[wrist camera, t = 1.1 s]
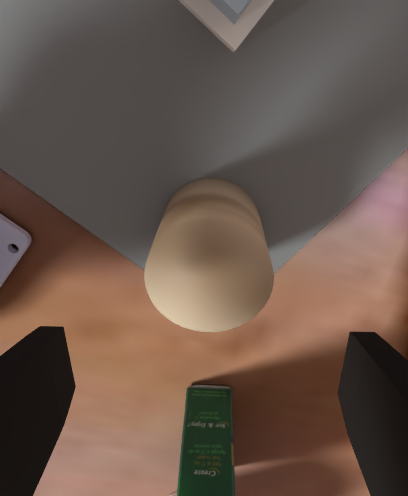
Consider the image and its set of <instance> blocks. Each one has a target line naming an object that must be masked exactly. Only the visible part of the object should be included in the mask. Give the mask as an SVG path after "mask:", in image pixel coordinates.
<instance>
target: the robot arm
mask: <svg viewBox="0 0 408 496" xmlns="http://www.w3.org/2000/svg"><path fill="white" fill-rule="evenodd" d="M31 242H32V240H31V236H30V234H29V233H28V232H27V231H25V230H24V229H22V228H21V227H19V226H18V225H16V224H15V223H13V222H12V221H10V220H9V219H7V218H6V217H4V216H3V215H2V214H0V287H1V286H2V284H3V283H4V282H5V280H6V279H7V277H8V276H9V274H10V273H11V272H12V270H13V269H14V267H15V266H16V264H17V263H18V261H19V260H20V259H21V257H22V256H23V254H24V253H25V251H26V250H27V249H28V247H29V246H30V244H31ZM11 244H15V245H16V246H17V247H18V249H19V250H16V249H14V248H13V247H12V245H11ZM75 387H76V386H75V381H74V377H73V372H72V367H71V362H70V357H69V352H68V347H67V342H66V337H65V332H64V327H51V326H40V327H38V328H37V329H35V330H34V331H33V332H31V333H30V334H28V335H27V336H26V337H24V338H23V339H22V340H21V341H19V342H18V343H17V344H15V345H14V346H13V347H11V348H10V349H9V350H8V351H6V352H5V353H4V354H2V355H1V356H0V496H33V494H34V492H35V490H36V487H37V485H38V483H39V481H40V478H41V476H42V474H43V472H44V470H45V467H46V465H47V463H48V461H49V458H50V456H51V454H52V452H53V449H54V447H55V445H56V442H57V440H58V438H59V436H60V433H61V431H62V429H63V426H64V423H65V420H66V417H67V414H68V411H69V408H70V404H71V401H72V397H73V394H74V390H75ZM338 396H339V400H340V404H341V409H342V413H343V417H344V421H345V425H346V429H347V433H348V436H349V438H350V441H351V444H352V447H353V449H354V452H355V455H356V458H357V460H358V463H359V466H360V468H361V471H362V474H363V476H364V479H365V482H366V484H367V487H368V490H369V492H370V495H371V496H408V360H406V359H405V358H404V357H403V356H402V355H401V354H400V353H399V352H397V351H396V350H395V349H394V348H393V347H392V346H391V345H389V344H388V343H387V342H386V341H385V340H384V339H383V338H381V337H380V336H379V335H378V334H376V333H375V332H350V334H349V339H348V344H347V349H346V354H345V359H344V364H343V369H342V374H341V379H340V384H339V389H338Z"/></svg>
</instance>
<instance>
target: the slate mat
mask: <svg viewBox="0 0 408 496" xmlns="http://www.w3.org/2000/svg"><path fill="white" fill-rule="evenodd" d="M407 149H408V0H274V1H273V3H272V4H271V5H270V6H269V8H268V9H267V10H266V12H265V13H264V14H263V15H262V17H261V18H260V19H259V21H258V22H257V23H256V25H255V26H254V27H253V28H252V30H251V31H250V32H249V34H248V35H247V36H246V37H245V39H244V40H243V41H242V43H241V44H240V45H239V47H238V48H237V49H236V50H235V51H233V52H232V51H231V50H230V49H229V48H228V47H227V46H226V45H225V44H224V43H223V42H221V41H220V40H219V39H218V38H217V37H216V36H215V35H214V34H213V33H212V32H211V31H210V30H209V29H208V28H207V27H206V26H205V25H204V24H203V23H202V22H200V21H199V20H198V19H197V18H196V17H195V16H194V15H193V14H192V13H191V12H190V11H189V10H188V9H187V8H186V7H185V6H184V5H183V4H182V3H181V2H179V1H178V0H0V169H2V170H3V171H5V172H6V173H7V174H9V175H10V176H12V177H13V178H14V179H16V180H17V181H19V182H20V183H22V184H23V185H24V186H26V187H27V188H29V189H30V190H31V191H33V192H34V193H36V194H37V195H38V196H40V197H41V198H43V199H44V200H46V201H47V202H48V203H50V204H51V205H53V206H54V207H55V208H57V209H58V210H60V211H61V212H63V213H64V214H65V215H67V216H68V217H70V218H71V219H72V220H74V221H75V222H77V223H78V224H80V225H81V226H82V227H84V228H85V229H87V230H88V231H89V232H91V233H92V234H94V235H95V236H96V237H98V238H99V239H101V240H102V241H104V242H105V243H106V244H108V245H109V246H111V247H112V248H113V249H115V250H116V251H118V252H119V253H121V254H122V255H123V256H125V257H126V258H128V259H129V260H130V261H132V262H133V263H135V264H136V265H138V266H139V267H140V268H142V269H143V270H145V266H146V261H147V259H148V256H149V253H150V250H151V247H152V245H153V242H154V239H155V236H156V233H157V230H158V228H159V225H160V222H161V219H162V216H163V214H164V211H165V208H166V205H167V203H168V201H169V200H170V198H171V197H172V196H173V194H174V193H175V192H176V191H177V190H178V189H180V188H181V187H182V186H184V185H185V184H187V183H189V182H192V181H194V180H198V179H202V178H221V179H225V180H228V181H231V182H233V183H235V184H237V185H239V186H240V187H241V188H243V189H244V190H245V191H246V192H247V193H248V194H249V195H250V196H251V198H252V199H253V201H254V202H255V204H256V206H257V209H258V212H259V216H260V220H261V224H262V228H263V231H264V235H265V239H266V243H267V247H268V251H269V255H270V259H271V263H272V266H273V273H275V272H276V271H277V270H278V269H279V268H281V267H282V266H283V265H284V264H285V263H286V262H287V261H288V260H289V259H290V258H291V257H292V256H293V255H294V254H295V253H297V252H298V251H299V250H300V249H301V248H302V247H303V246H304V245H305V244H306V243H307V242H308V241H309V240H310V239H312V238H313V237H314V236H315V235H316V234H317V233H318V232H319V231H320V230H321V229H322V228H323V227H324V226H325V225H326V224H328V223H329V222H330V221H331V220H332V219H333V218H334V217H335V216H336V215H337V214H338V213H339V212H340V211H341V210H342V209H344V208H345V207H346V206H347V205H348V204H349V203H350V202H351V201H352V200H353V199H354V198H355V197H356V196H357V195H358V194H360V193H361V192H362V191H363V190H364V189H365V188H366V187H367V186H368V185H369V184H370V183H371V182H372V181H373V180H374V179H376V178H377V177H378V176H379V175H380V174H381V173H382V172H383V171H384V170H385V169H386V168H387V167H388V166H389V165H391V164H392V163H393V162H394V161H395V160H396V159H397V158H398V157H399V156H400V155H401V154H402V153H403V152H404V151H405V150H407Z"/></svg>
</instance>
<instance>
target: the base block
mask: <svg viewBox="0 0 408 496" xmlns="http://www.w3.org/2000/svg"><path fill="white" fill-rule="evenodd" d="M178 1H179V2H181V3H182V4H183V5H184V6H185V7H186V8H187V9H188V10H189V11H190V12H191V13H192V14H193V15H194V16H195V17H196V18H197V19H198V20H199V21H200V22H202V23H203V24H204V25H205V26H206V27H207V28H208V29H209V30H210V31H211V32H212V33H213V34H214V35H215V36H216V37H217V38H218V39H219V40H220V41H221V42H223V43H224V44H225V45H226V46H227V47H228V48H229V49H230V50H231V51H232V52H233V51H235V50H236V49H237V48H238V47H239V45H240V44H241V43H242V41H243V40H244V39H245V37H246V36H247V35H248V34H249V32H250V31H251V30H252V28H253V27H254V26H255V25H256V23H257V22H258V21H259V19H260V18H261V17H262V15H263V14H264V13H265V12H266V10H267V9H268V8H269V6H270V5H271V4H272V3H273V1H274V0H252V1H251V3H250V4H249V5H248V7H247V8H246V9H245V11H244V12H243V13H242V15H241V16H240V17H239V19H238V20H237V21H236V23H235V24H233V23H232V22H231V21H230V20H229V19H228V18H227V17H226V16H225V15H224V14H222V13H221V12H220V11H219V10H218V9H217V8H216V7H215V6H214V5H213V4H212V3H211V2H210V1H209V0H178Z"/></svg>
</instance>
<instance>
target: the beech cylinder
mask: <svg viewBox="0 0 408 496" xmlns="http://www.w3.org/2000/svg"><path fill="white" fill-rule="evenodd" d="M144 278H145V285H146V289H147V292H148V295H149V297H150V299H151V301H152V302H153V304H154V305H155V307H156V308H157V309H158V310H159V311H160V312H161V313H162V314H163V315H164V316H165V317H166V318H168V319H169V320H170V321H172V322H174V323H175V324H177V325H180V326H182V327H184V328H187V329H190V330H195V331H201V332H219V331H225V330H230V329H233V328H236V327H238V326H240V325H242V324H244V323H246V322H248V321H249V320H251V319H252V318H253V317H254V316H256V315H257V314H258V313H259V312H260V311H261V310H262V308H263V307H264V306H265V304H266V302H267V301H268V299H269V297H270V294H271V291H272V287H273V281H274V273H273V266H272V263H271V259H270V255H269V251H268V247H267V243H266V239H265V235H264V231H263V228H262V224H261V220H260V216H259V212H258V209H257V206H256V204H255V202H254V201H253V199H252V198H251V196H250V195H249V194H248V193H247V192H246V191H245V190H244V189H243V188H241V187H240V186H239V185H237V184H235V183H233V182H231V181H228V180H225V179H221V178H202V179H198V180H194V181H192V182H189V183H187V184H185V185H184V186H182V187H181V188H180V189H178V190H177V191H176V192H175V193H174V194H173V196H172V197H171V198H170V200H169V201H168V203H167V205H166V208H165V211H164V214H163V216H162V219H161V222H160V225H159V228H158V230H157V233H156V236H155V239H154V242H153V245H152V247H151V250H150V253H149V256H148V259H147V261H146V266H145V275H144Z"/></svg>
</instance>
